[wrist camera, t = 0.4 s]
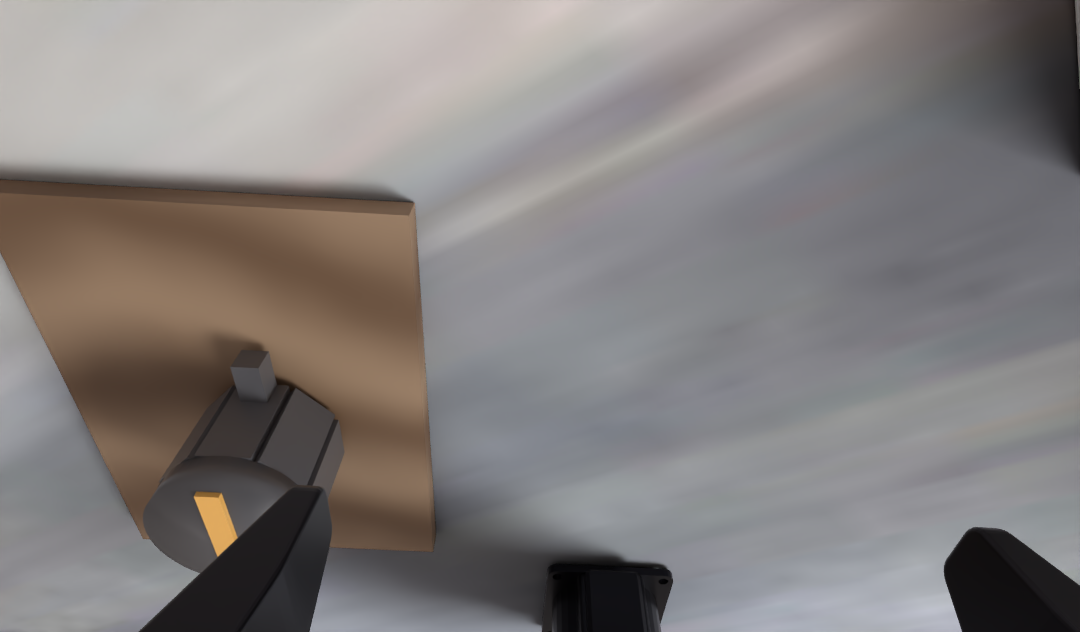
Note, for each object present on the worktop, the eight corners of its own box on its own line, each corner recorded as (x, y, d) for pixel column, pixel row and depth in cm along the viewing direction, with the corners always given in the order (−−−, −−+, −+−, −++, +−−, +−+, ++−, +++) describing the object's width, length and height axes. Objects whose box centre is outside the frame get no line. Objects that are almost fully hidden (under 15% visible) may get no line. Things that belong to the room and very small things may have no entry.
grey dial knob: (350, 480, 27) (314, 589, 23) (225, 474, 27) (165, 583, 23) (328, 354, 23) (279, 458, 19) (181, 346, 23) (99, 449, 19)
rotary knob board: (436, 534, 31) (418, 632, 27) (154, 521, 31) (93, 618, 27) (414, 202, 21) (381, 279, 17) (-7, 179, 21) (-145, 251, 17)
